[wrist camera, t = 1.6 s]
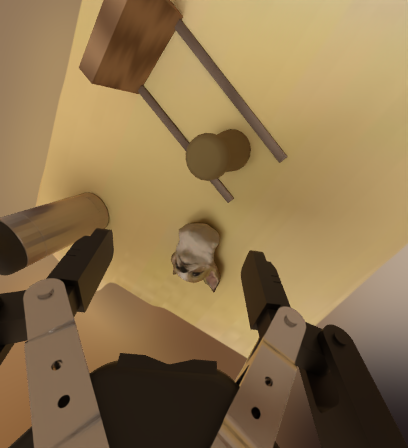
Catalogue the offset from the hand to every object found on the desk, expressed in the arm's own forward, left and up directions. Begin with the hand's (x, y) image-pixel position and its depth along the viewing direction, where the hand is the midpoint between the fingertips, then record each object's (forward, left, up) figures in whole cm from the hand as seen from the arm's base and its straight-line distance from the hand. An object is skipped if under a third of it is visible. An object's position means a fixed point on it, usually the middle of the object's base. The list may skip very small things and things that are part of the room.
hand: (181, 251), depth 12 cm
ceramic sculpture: (-17, -5, -24) cm, 29 cm away
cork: (0, +5, -23) cm, 24 cm away
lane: (0, +11, -23) cm, 26 cm away
